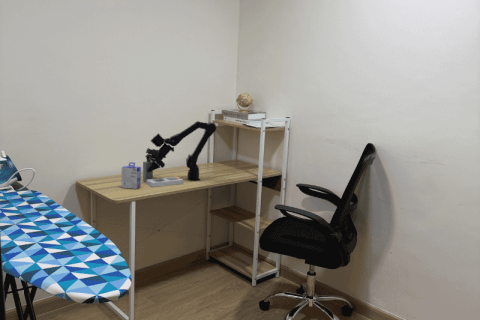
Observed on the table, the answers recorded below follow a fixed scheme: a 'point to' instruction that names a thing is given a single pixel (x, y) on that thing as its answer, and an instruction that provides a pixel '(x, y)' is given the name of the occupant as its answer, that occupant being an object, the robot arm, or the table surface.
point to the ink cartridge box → (131, 176)
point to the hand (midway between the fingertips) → (145, 170)
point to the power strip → (164, 181)
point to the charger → (145, 168)
